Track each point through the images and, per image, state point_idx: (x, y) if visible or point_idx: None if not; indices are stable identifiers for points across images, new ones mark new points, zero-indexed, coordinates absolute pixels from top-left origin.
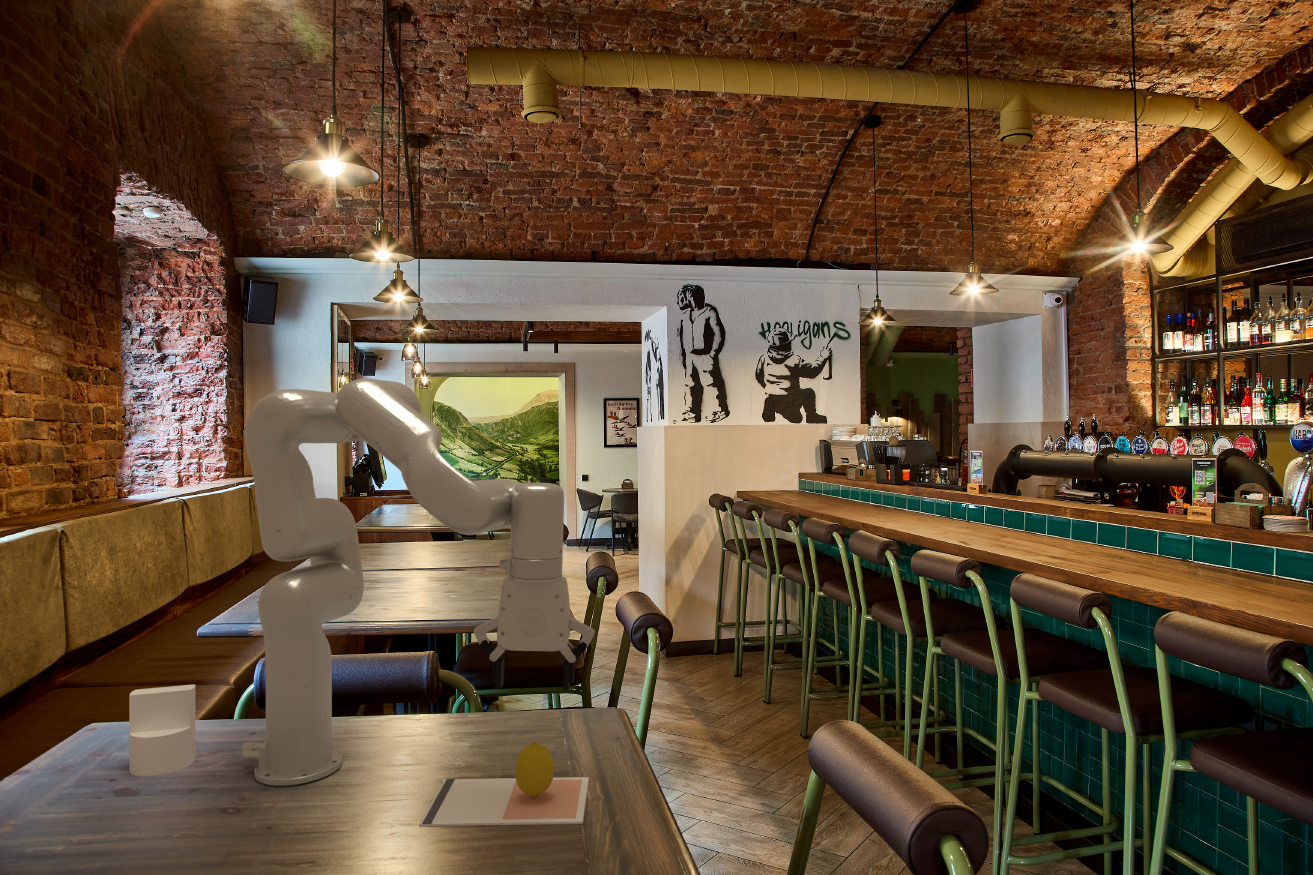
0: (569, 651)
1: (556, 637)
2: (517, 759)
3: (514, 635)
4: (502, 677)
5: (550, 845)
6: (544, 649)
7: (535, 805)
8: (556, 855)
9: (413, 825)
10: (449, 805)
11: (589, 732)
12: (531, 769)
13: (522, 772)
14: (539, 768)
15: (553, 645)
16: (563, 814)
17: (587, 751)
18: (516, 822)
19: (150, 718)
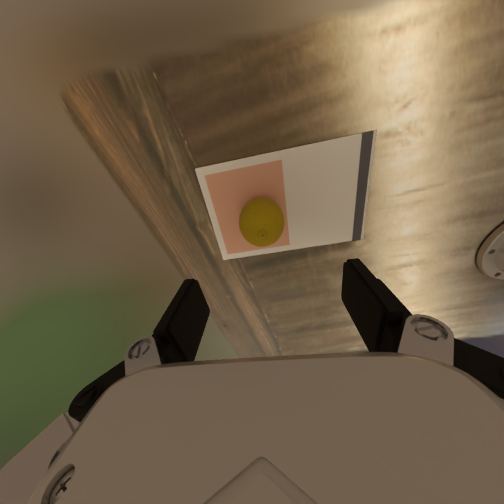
0: (130, 373)
1: (102, 452)
2: (281, 218)
3: (415, 474)
4: (350, 295)
5: (210, 108)
6: (198, 364)
7: (254, 195)
8: (194, 82)
9: (382, 131)
10: (347, 182)
11: (251, 332)
12: (258, 203)
13: (270, 202)
14: (249, 206)
15: (149, 390)
16: (219, 179)
17: (242, 304)
18: (263, 154)
19: None
